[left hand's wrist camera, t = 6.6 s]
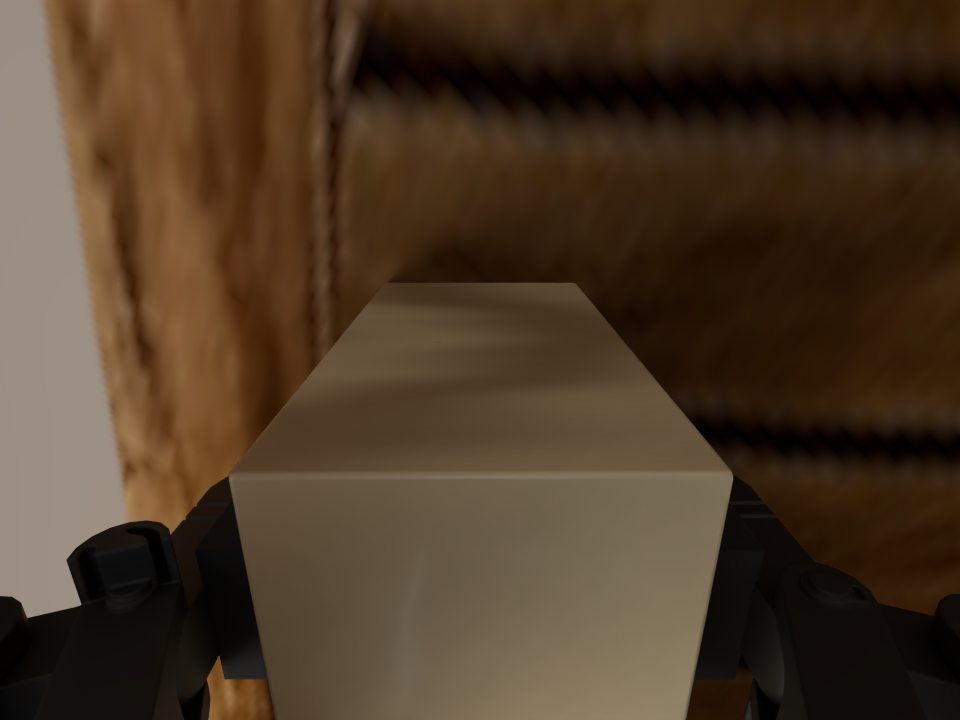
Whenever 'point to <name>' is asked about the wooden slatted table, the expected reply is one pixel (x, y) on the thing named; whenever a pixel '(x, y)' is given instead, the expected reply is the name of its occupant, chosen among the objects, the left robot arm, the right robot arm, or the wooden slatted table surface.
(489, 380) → the birch rail
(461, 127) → the wooden slatted table surface
